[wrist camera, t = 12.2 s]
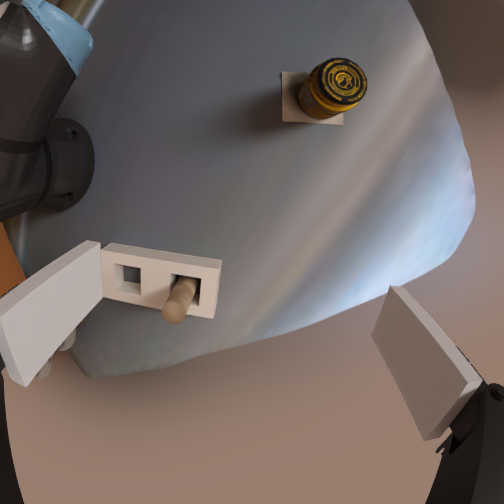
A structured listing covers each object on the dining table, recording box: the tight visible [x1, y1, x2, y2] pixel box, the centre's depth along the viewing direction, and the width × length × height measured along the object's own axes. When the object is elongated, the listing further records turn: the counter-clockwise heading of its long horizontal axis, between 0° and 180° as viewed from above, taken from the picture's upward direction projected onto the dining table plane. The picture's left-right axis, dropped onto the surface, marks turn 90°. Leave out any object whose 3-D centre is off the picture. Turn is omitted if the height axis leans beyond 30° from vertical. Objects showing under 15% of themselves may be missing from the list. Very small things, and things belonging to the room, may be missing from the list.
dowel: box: [162, 275, 199, 324], centre depth 39 cm, size 3×3×10 cm
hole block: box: [101, 243, 222, 319], centre depth 42 cm, size 18×8×4 cm, turn 81°
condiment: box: [282, 58, 367, 125], centre depth 29 cm, size 7×8×12 cm
